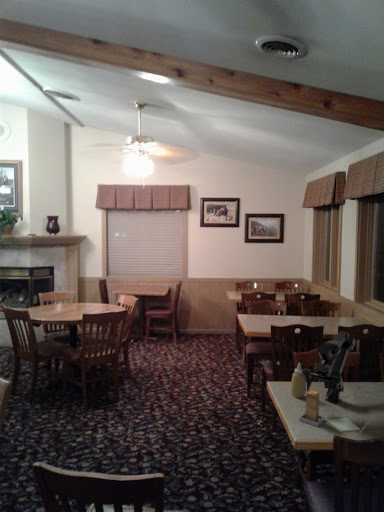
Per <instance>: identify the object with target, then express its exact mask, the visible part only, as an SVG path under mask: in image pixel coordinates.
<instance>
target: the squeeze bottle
mask: <svg viewBox="0 0 384 512" xmlns="http://www.w3.org/2000/svg"><path fill="white" fill-rule="evenodd" d="M302 370H303V369H302V364H301V362H298V363H297V367H296V368H294V372H293V373H292V377H291V385H290V392H291V395H292V397H293V398H298V399H299V398H300V399H303V398H304V397H305V396H306V395H305V394H306V393H307V392H306V391H307V381H306V379H305V378H304V377H303V374H302Z"/></svg>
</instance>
